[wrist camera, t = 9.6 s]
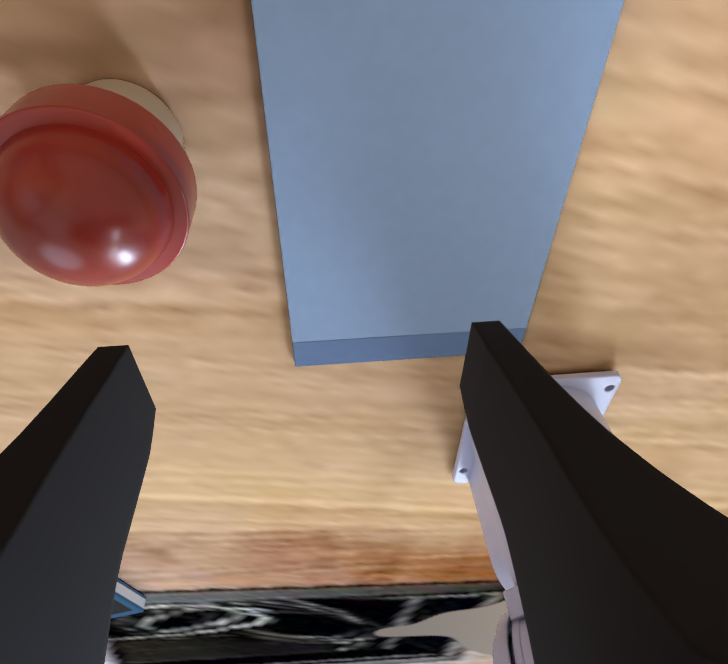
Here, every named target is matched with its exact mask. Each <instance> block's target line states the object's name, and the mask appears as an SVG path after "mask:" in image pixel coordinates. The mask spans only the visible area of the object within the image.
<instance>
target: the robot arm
mask: <svg viewBox="0 0 728 664" xmlns="http://www.w3.org/2000/svg"><path fill="white" fill-rule="evenodd" d="M621 379H622V378H621V376H620V374H619V373H618V372H617V371H600V372H586V373H572V374H558V375H550V374H549V373H548V372H547V371H546V370H545V369H544V368H543V367H542V366H541V365H540V364H539V363H538V362H537V361H536V359H535V358H534V357H533V356H532V355H531V354H530V353H529V352H528V351H527V350H526V349H525V348H524V346H523V345H522V344H521V343H520V342H519V341H518V340H517V339H516V338H515V337H514V335H513V334H512V333H511V332H510V331H509V330H508V329H507V328H506V327H505V326H504V325H503V324H502V323H501V322H500V321H484V322H472V323H471V329H470V334H469V339H468V345H467V350H466V356H465V361H464V366H463V372H462V377H461V383H460V389H461V394H462V399H463V404H464V409H465V413H466V417H465V421H464V426H463V430H462V434H461V439H460V443H459V448H458V452H457V457H456V461H455V465H454V470H453V474H452V477H453V481H454V482H455V483H470V487H471V491H472V494H473V498H474V502H475V505H476V509H477V512H478V516H479V520H480V523H481V527H482V530H483V534H484V538H485V541H486V545H487V548H488V552H489V556H490V559H491V563H492V566H493V569H494V571H495V574H496V576H497V578H498V580H499V581H500V583H501V584H502V586H503V587H504V588H505V591H504V592H503V594H504V597H505V601H506V604H507V608H508V612H509V613H506V614H504V615H503V616H502V617H500V619H499V621H498V624H497V628H496V635H495V638H494V642H493V664H728V517H726V516H725V515H723V514H721V513H720V512H718V511H717V510H715V509H714V508H712V507H711V506H709V505H708V504H706V503H705V502H703V501H702V500H700V499H699V498H697V497H696V496H694V495H693V494H691V493H690V492H689V491H687V490H686V489H684V488H683V487H681V486H680V485H678V484H677V483H675V482H674V481H673V480H671V479H670V478H668V477H667V476H666V475H664V474H663V473H662V472H660V471H659V470H657V469H656V468H655V467H653V466H652V465H651V464H649V463H648V462H647V461H646V460H644V459H643V458H642V457H641V456H639V455H638V454H637V453H635V452H634V451H633V450H632V449H630V448H629V447H628V446H627V445H625V444H624V443H623V442H622V441H620V440H619V439H618V438H617V437H616V436H614V435H613V434H612V432H611V430H610V428H609V426H608V425H607V423H606V421H605V419H604V417H603V415H604V413H605V411H606V409H607V407H608V405H609V403H610V401H611V399H612V397H613V395H614V393H615V392H616V390H617V388H618V386H619V384H620V382H621ZM155 411H156V408H155V406H154V403H153V401H152V399H151V396H150V394H149V392H148V389H147V387H146V385H145V382H144V380H143V378H142V376H141V373H140V371H139V369H138V366H137V364H136V362H135V359H134V357H133V355H132V352H131V350H130V348H129V345H123V346H107V347H98V348H97V349H96V350H95V351H94V352H93V353H92V354H91V355H90V356H89V358H88V359H87V360H86V361H85V362H84V363H83V364H82V365H81V367H80V368H79V369H78V370H77V371H76V372H75V373H74V375H73V376H72V377H71V378H70V379H69V380H68V381H67V383H66V384H65V385H64V386H63V387H62V388H61V389H60V390H59V392H58V393H57V394H56V395H55V396H54V397H53V398H52V400H51V401H50V402H49V403H48V404H47V405H46V406H45V407H44V408H43V409H42V411H41V412H40V413H39V414H38V415H37V416H36V417H35V418H34V419H33V420H32V422H31V423H30V424H29V425H28V426H27V427H26V428H25V429H24V430H23V431H22V432H21V434H20V435H19V436H18V437H17V438H16V439H15V440H14V441H13V442H12V443H11V444H10V445H9V446H8V447H7V448H6V449H5V450H4V451H3V452H2V453H1V454H0V664H104V663H105V656H106V648H107V641H108V634H109V627H110V621H111V615H112V608H113V602H114V596H115V590H116V584H117V578H118V573H119V569H120V564H121V560H122V556H123V551H124V548H125V544H126V541H127V537H128V533H129V530H130V526H131V522H132V519H133V515H134V511H135V508H136V504H137V500H138V497H139V493H140V489H141V486H142V482H143V478H144V474H145V471H146V467H147V463H148V459H149V455H150V450H151V443H152V436H153V428H154V419H155Z"/></svg>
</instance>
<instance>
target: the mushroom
mask: <svg viewBox="0 0 728 664" xmlns="http://www.w3.org/2000/svg"><path fill="white" fill-rule="evenodd" d="M196 200H197V186H196V180H195V175H194V172H193V168H192V165H191V163H190V161H189V158H188V156H187V154H186V152H185V151H184V141H183V135H182V132H181V129H180V126H179V124H178V122H177V120H176V118H175V117H174V115H173V114H172V112H171V111H170V110H169V108H168V107H167V106H166V105H165V104H164V103H163V102H162V101H161V100H160V99H159V98H158V97H157V96H155V95H154V94H152V93H151V92H150V91H148V90H146V89H144V88H143V87H141V86H138V85H136V84H134V83H131V82H127V81H123V80H117V79H103V80H97V81H93V82H91V83H88V84H86V85H83V84H58V85H51V86H47V87H43V88H39V89H37V90H35V91H32V92H30V93H28V94H27V95H25V96H23V97H22V98H20V99H19V100H18V101H17V102H16V103H15V104H13V105H12V106H11V107H10V108H9V109H8V110H7V111H6V112H5V113H4V114H3V115H2V116H0V236H1V238H2V240H3V241H4V242H5V244H6V245H7V246H8V247H9V249H10V250H11V251H12V252H13V253H14V254H15V255H16V256H17V257H18V258H20V259H21V260H22V261H23V262H24V263H26V264H27V265H28V266H30V267H31V268H33V269H34V270H36V271H38V272H39V273H41V274H43V275H45V276H47V277H49V278H52V279H55V280H57V281H61V282H64V283H68V284H73V285H79V286H105V285H118V284H127V283H133V282H137V281H141V280H144V279H147V278H150V277H152V276H154V275H156V274H158V273H159V272H161V271H162V270H164V269H165V268H167V267H168V266H169V265H170V264H171V263H172V262H173V261H174V260H175V259H176V258H177V256H178V255H179V254H180V252H181V251H182V249H183V247H184V245H185V243H186V240H187V236H188V233H189V229H190V226H191V222H192V218H193V215H194V211H195V207H196Z"/></svg>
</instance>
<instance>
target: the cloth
mask: <svg viewBox="0 0 728 664" xmlns="http://www.w3.org/2000/svg"><path fill="white" fill-rule="evenodd" d="M623 3H624V0H251V5H252V13H253V22H254V30H255V38H256V46H257V55H258V63H259V71H260V79H261V88H262V96H263V104H264V112H265V120H266V129H267V137H268V145H269V153H270V162H271V170H272V178H273V186H274V195H275V203H276V211H277V219H278V228H279V236H280V244H281V252H282V260H283V269H284V277H285V285H286V293H287V302H288V310H289V318H290V326H291V335H292V343H293V351H294V360H295V366H311V365H326V364H340V363H355V362H370V361H385V360H400V359H415V358H429V357H444V356H459V355H466V350H467V345H468V339H469V334H470V329H471V323H472V322H484V321H500V322H501V323H502V324H503V325H504V326H505V327H506V328H507V329H508V330H509V331H510V332H511V333H512V334H513V335H514V337H515V338H516V339H517V340H518V341H519V342H520V343H521V344H522V342H523V338H524V335H525V332H526V328H527V324H528V321H529V318H530V314H531V311H532V308H533V304H534V301H535V298H536V294H537V291H538V288H539V284H540V281H541V277H542V274H543V271H544V267H545V264H546V261H547V257H548V254H549V251H550V247H551V244H552V241H553V237H554V234H555V231H556V227H557V224H558V221H559V217H560V214H561V211H562V207H563V204H564V200H565V197H566V194H567V190H568V187H569V184H570V180H571V177H572V174H573V170H574V167H575V164H576V160H577V157H578V154H579V150H580V147H581V144H582V140H583V137H584V134H585V130H586V127H587V123H588V120H589V117H590V113H591V110H592V107H593V103H594V100H595V97H596V93H597V90H598V87H599V83H600V80H601V77H602V73H603V70H604V67H605V63H606V60H607V57H608V53H609V50H610V46H611V43H612V40H613V36H614V33H615V30H616V26H617V23H618V20H619V16H620V13H621V10H622V6H623Z"/></svg>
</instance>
